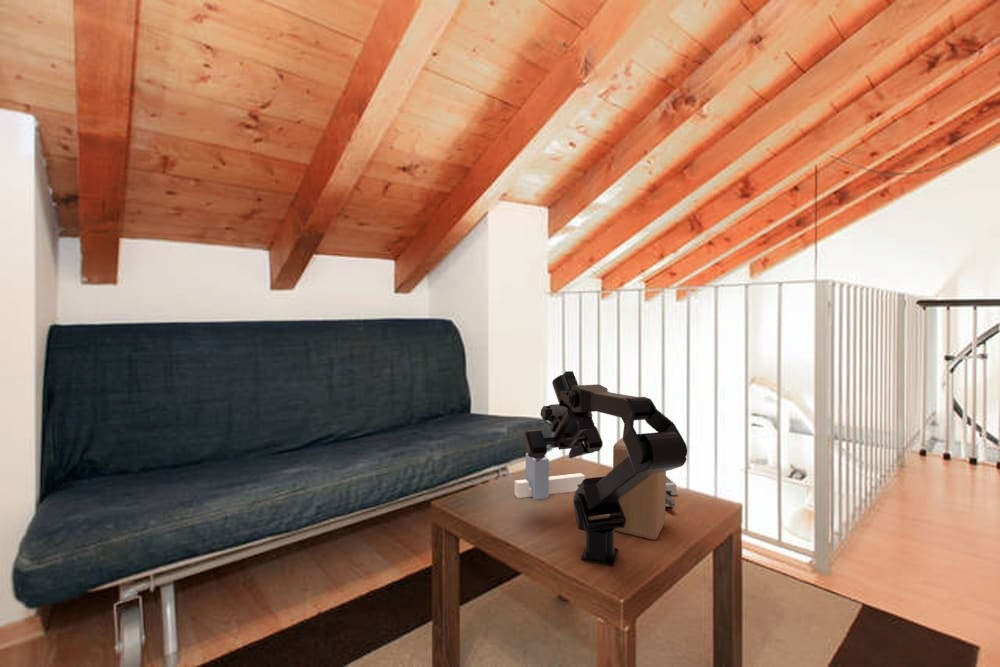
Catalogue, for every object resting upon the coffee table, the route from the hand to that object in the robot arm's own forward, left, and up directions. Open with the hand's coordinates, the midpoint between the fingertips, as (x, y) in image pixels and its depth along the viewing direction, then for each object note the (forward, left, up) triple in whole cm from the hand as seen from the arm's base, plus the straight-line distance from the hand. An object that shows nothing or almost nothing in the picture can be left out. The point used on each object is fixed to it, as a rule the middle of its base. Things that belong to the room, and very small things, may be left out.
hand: (553, 458), depth 115 cm
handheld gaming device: (+26, -21, -13) cm, 36 cm away
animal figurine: (+13, -25, -13) cm, 31 cm away
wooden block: (-2, -21, -13) cm, 25 cm away
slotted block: (+8, +7, -13) cm, 16 cm away
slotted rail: (+10, +4, -13) cm, 17 cm away
